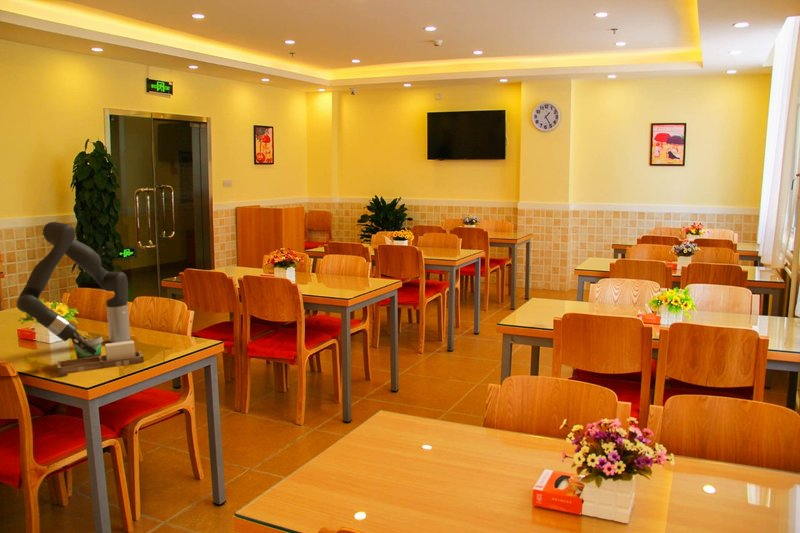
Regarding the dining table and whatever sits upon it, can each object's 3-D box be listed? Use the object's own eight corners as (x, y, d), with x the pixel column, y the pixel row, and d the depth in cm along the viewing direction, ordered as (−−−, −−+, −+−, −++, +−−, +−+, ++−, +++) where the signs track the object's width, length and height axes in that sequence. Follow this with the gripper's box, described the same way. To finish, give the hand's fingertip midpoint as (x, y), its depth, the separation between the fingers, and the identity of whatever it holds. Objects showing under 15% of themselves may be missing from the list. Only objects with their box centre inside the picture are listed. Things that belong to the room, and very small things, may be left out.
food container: (80, 366, 286) (78, 343, 284) (74, 363, 290) (72, 340, 289) (109, 359, 295) (107, 337, 293) (103, 357, 299) (101, 335, 298)
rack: (58, 369, 282) (57, 361, 281) (140, 358, 296) (140, 350, 295) (58, 376, 272) (57, 368, 272) (143, 364, 286) (143, 356, 286)
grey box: (106, 362, 287) (105, 343, 286) (134, 358, 292) (133, 340, 291) (107, 365, 283) (105, 346, 282) (135, 361, 288) (134, 342, 286)
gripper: (68, 324, 280) (101, 347, 287) (67, 317, 293) (99, 340, 300) (55, 338, 279) (89, 361, 285) (55, 331, 291) (87, 353, 298)
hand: (94, 350), depth 293 cm, fingers open, 7 cm apart
